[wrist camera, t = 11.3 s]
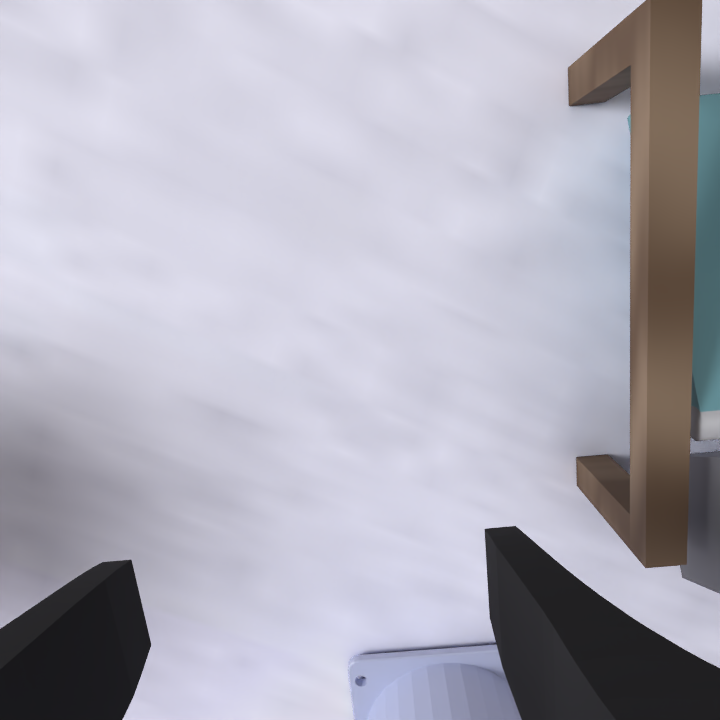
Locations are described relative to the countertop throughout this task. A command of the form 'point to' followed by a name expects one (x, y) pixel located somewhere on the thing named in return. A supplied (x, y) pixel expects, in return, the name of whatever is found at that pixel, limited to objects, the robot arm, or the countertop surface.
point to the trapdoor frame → (653, 270)
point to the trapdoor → (705, 358)
